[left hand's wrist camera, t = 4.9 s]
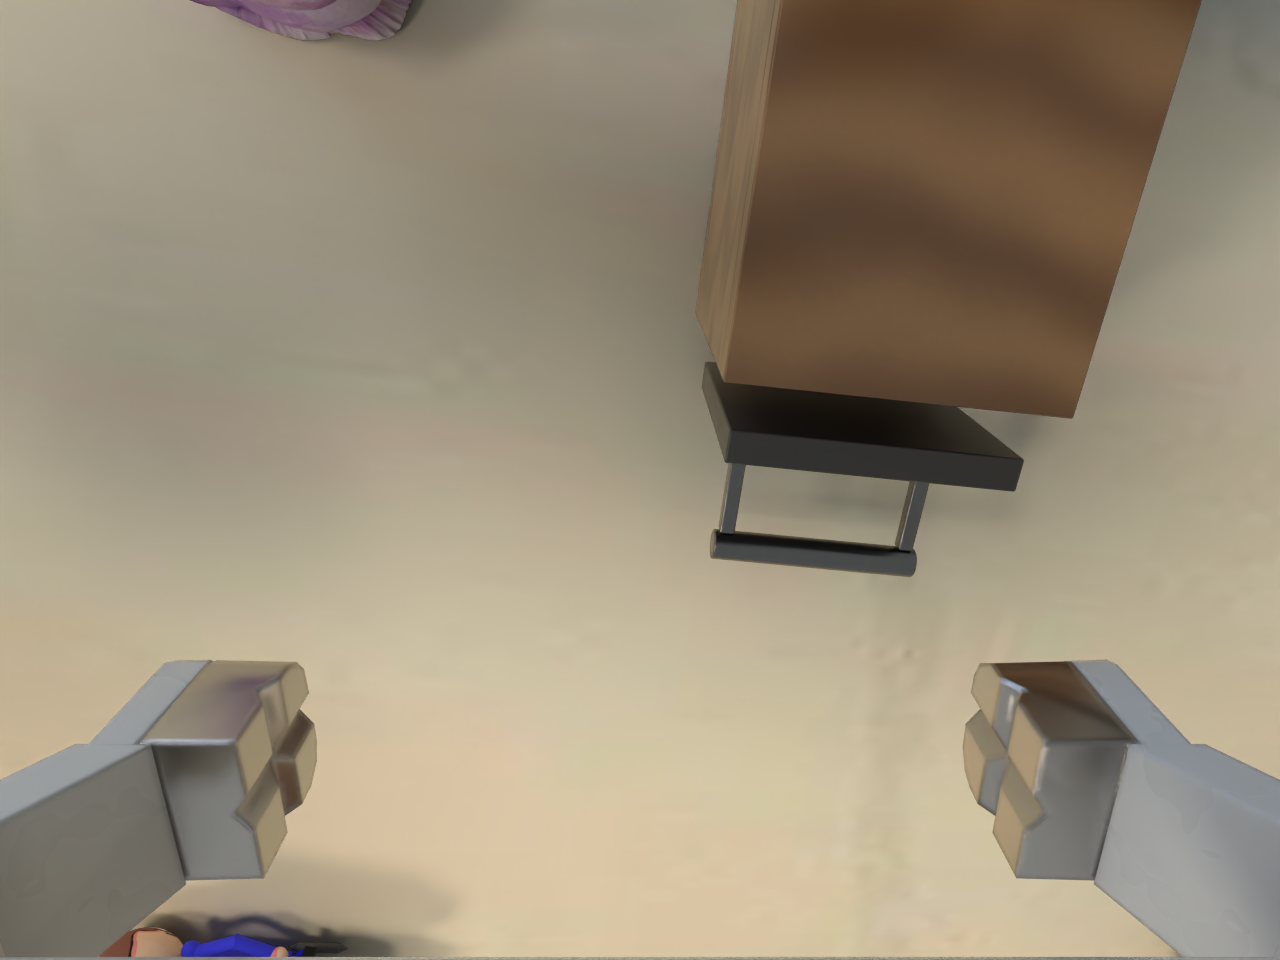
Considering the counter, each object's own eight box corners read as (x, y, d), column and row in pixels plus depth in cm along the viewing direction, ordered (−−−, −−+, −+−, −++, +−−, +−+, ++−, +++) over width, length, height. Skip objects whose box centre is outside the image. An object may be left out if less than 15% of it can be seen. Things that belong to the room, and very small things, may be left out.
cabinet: (945, 341, 38) (1073, 419, 27) (695, 313, 37) (722, 382, 26) (1065, -153, 31) (1298, -311, 20) (763, -195, 31) (838, -382, 20)
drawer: (895, 531, 40) (972, 641, 31) (684, 511, 39) (700, 617, 31) (1029, -25, 32) (1186, -91, 23) (764, -60, 31) (818, -142, 22)
